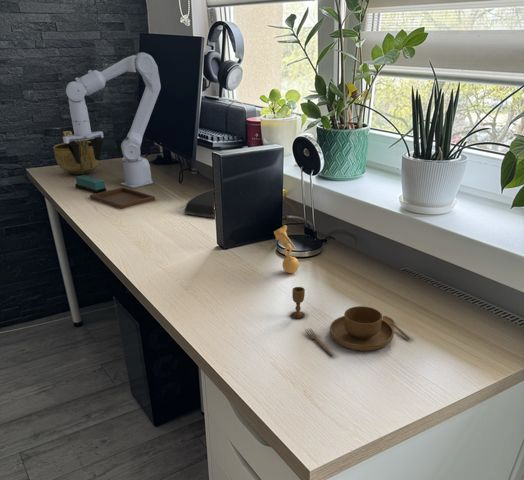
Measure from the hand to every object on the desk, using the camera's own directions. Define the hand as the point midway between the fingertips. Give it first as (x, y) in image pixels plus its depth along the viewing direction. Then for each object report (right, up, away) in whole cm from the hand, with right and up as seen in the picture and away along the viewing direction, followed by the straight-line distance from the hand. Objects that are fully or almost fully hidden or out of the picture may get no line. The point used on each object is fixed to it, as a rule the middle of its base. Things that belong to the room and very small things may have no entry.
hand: (88, 161), depth 186 cm
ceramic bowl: (-11, +4, +25) cm, 27 cm away
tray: (+15, -16, -9) cm, 24 cm away
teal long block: (0, -9, +3) cm, 10 cm away
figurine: (+69, -50, -62) cm, 105 cm away
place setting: (+80, -64, -85) cm, 133 cm away
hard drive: (+47, -22, -18) cm, 55 cm away
